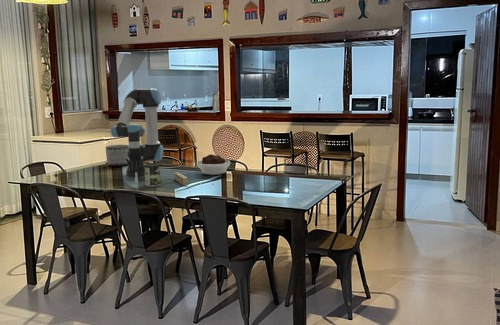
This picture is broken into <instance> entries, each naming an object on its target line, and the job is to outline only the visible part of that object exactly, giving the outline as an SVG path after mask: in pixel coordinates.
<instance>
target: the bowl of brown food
mask: <svg viewBox="0 0 500 325" xmlns="http://www.w3.org/2000/svg"><path fill="white" fill-rule="evenodd" d="M196 164H197V166H198V168H199V169H200V170H201V173H203V174H205V175H209V176H219V175H223V174H225V173H226V172H227V170H228V168H229V166H230V165H231V161H230V160H229V159H225V158H224V157H221V155H218V154H217V155H215V154H211V153H210V154H208V155H206V156H203V157H202V160H198V161H197V162H196Z"/></svg>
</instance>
